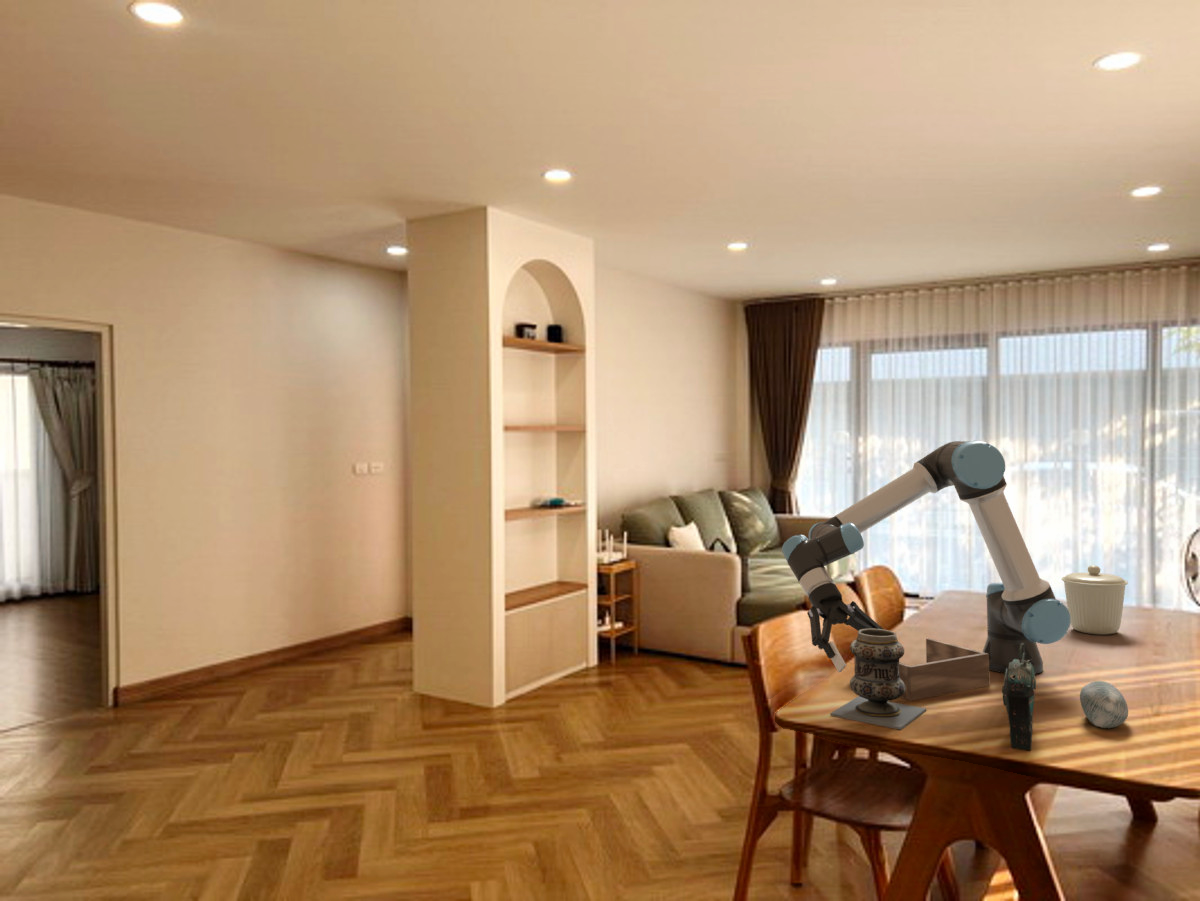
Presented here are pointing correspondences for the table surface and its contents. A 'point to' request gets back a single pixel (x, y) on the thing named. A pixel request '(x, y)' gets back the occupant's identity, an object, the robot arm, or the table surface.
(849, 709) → the rubber mat
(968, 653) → the walnut u-shaped frame
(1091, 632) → the canister
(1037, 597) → the robot arm
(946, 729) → the table surface
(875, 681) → the apothecary jar
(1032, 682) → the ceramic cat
